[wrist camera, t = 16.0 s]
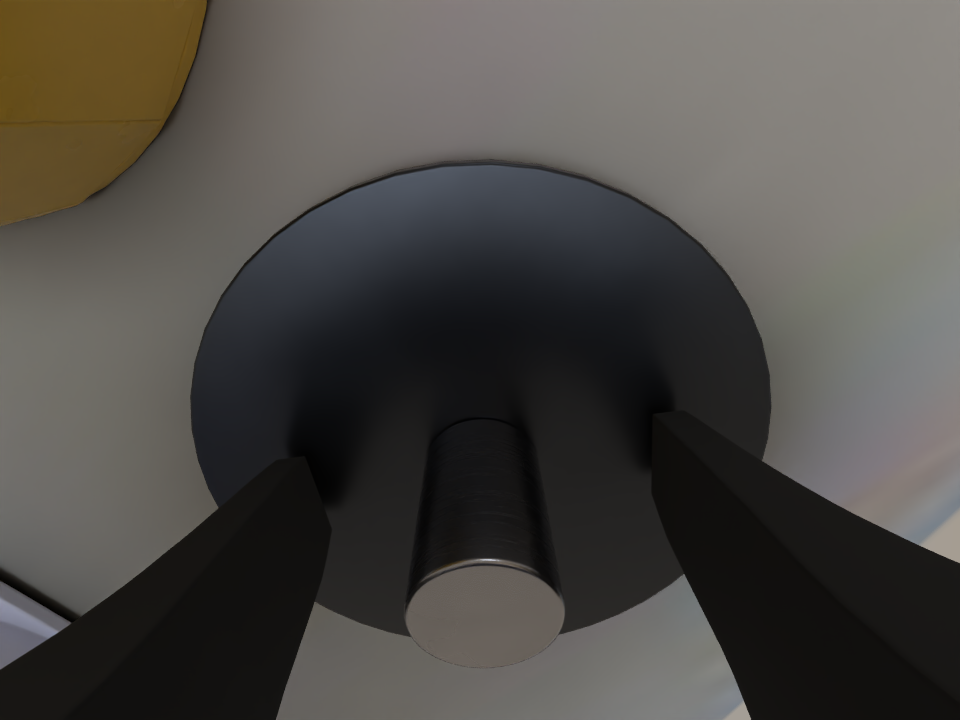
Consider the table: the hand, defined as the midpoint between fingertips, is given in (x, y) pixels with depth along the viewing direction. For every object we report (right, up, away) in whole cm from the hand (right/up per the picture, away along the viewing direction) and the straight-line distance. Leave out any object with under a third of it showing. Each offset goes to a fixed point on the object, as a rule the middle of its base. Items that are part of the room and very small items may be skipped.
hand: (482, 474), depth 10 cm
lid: (0, 0, +1) cm, 1 cm away
